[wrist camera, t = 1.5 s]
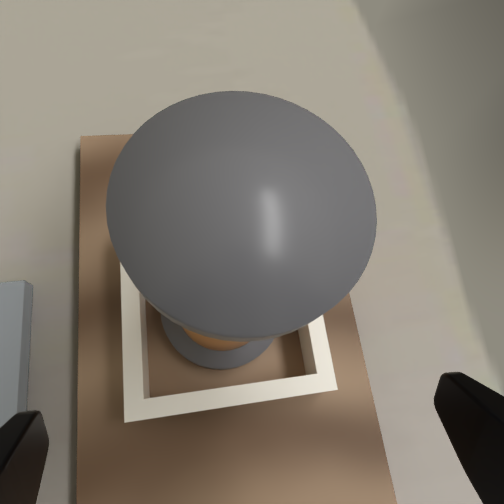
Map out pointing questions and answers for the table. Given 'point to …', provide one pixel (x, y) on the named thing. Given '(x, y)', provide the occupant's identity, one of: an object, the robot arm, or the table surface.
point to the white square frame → (145, 407)
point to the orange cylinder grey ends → (239, 221)
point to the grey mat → (14, 346)
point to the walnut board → (214, 420)
